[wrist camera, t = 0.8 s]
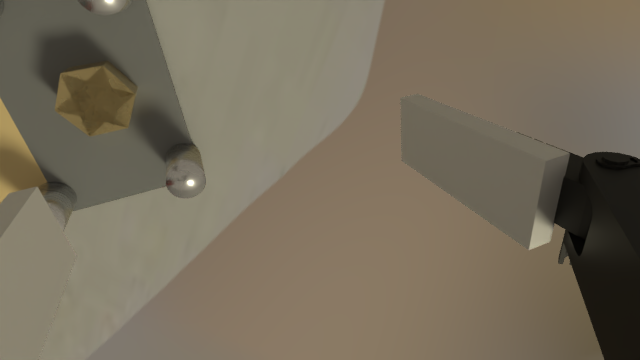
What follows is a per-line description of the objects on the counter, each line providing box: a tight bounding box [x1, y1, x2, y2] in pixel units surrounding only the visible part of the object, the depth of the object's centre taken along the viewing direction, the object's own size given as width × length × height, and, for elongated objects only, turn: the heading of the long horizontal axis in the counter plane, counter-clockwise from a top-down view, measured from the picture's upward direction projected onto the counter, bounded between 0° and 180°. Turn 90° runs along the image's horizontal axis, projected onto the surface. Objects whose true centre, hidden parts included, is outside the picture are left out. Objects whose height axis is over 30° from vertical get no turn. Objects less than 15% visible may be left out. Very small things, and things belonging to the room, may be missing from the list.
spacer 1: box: [38, 182, 77, 232], centre depth 27 cm, size 3×3×5 cm
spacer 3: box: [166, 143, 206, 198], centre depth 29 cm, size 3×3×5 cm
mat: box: [0, 0, 192, 211], centre depth 27 cm, size 15×17×1 cm
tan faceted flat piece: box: [55, 60, 138, 137], centre depth 26 cm, size 5×4×2 cm
